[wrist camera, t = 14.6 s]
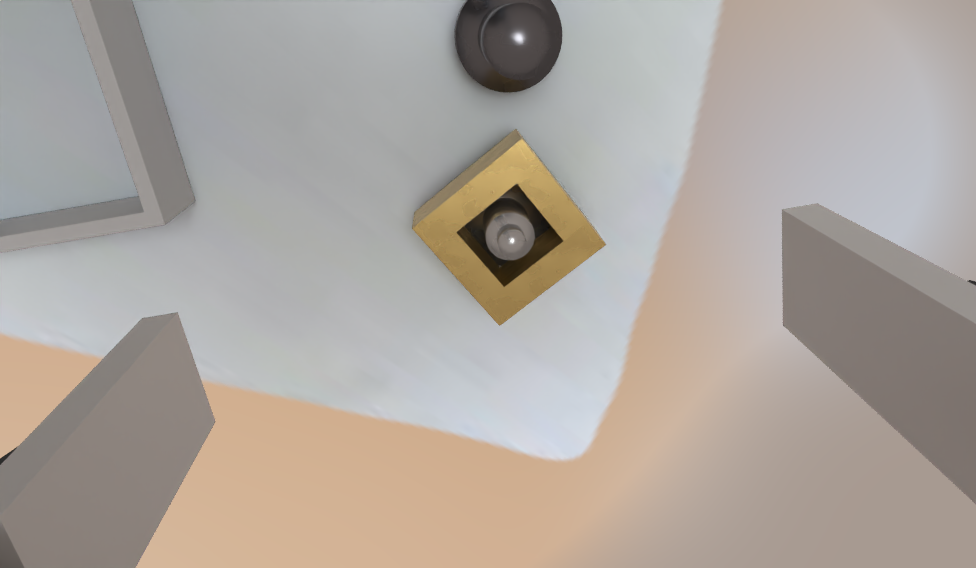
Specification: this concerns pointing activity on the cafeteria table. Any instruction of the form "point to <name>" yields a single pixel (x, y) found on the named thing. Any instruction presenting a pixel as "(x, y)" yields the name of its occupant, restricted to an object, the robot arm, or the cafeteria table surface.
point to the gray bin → (140, 132)
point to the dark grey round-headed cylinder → (508, 41)
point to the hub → (508, 226)
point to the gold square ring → (479, 189)
